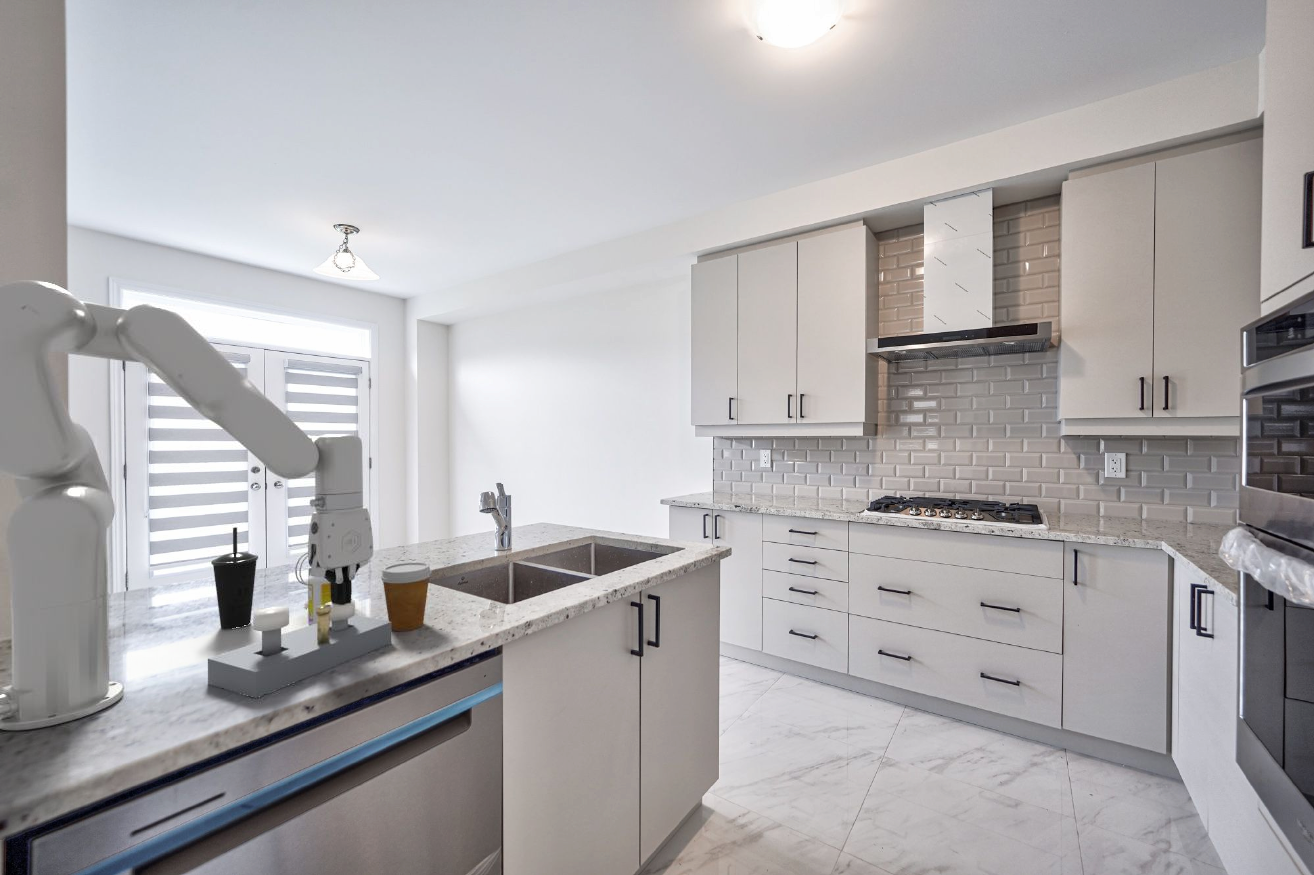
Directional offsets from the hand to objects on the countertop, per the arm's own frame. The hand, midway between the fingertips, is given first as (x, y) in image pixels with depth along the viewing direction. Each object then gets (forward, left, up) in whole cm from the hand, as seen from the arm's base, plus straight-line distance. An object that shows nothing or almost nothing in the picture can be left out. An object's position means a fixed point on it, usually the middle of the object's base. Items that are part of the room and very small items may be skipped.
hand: (341, 602), depth 102 cm
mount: (-6, 0, -9) cm, 11 cm away
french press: (+17, +28, -9) cm, 34 cm away
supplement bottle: (+9, +16, -9) cm, 20 cm away
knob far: (0, 0, -7) cm, 7 cm away
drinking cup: (0, +31, -9) cm, 32 cm away
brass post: (-6, -4, -4) cm, 9 cm away
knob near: (-12, 0, -4) cm, 13 cm away
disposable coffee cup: (+14, -1, -9) cm, 16 cm away
